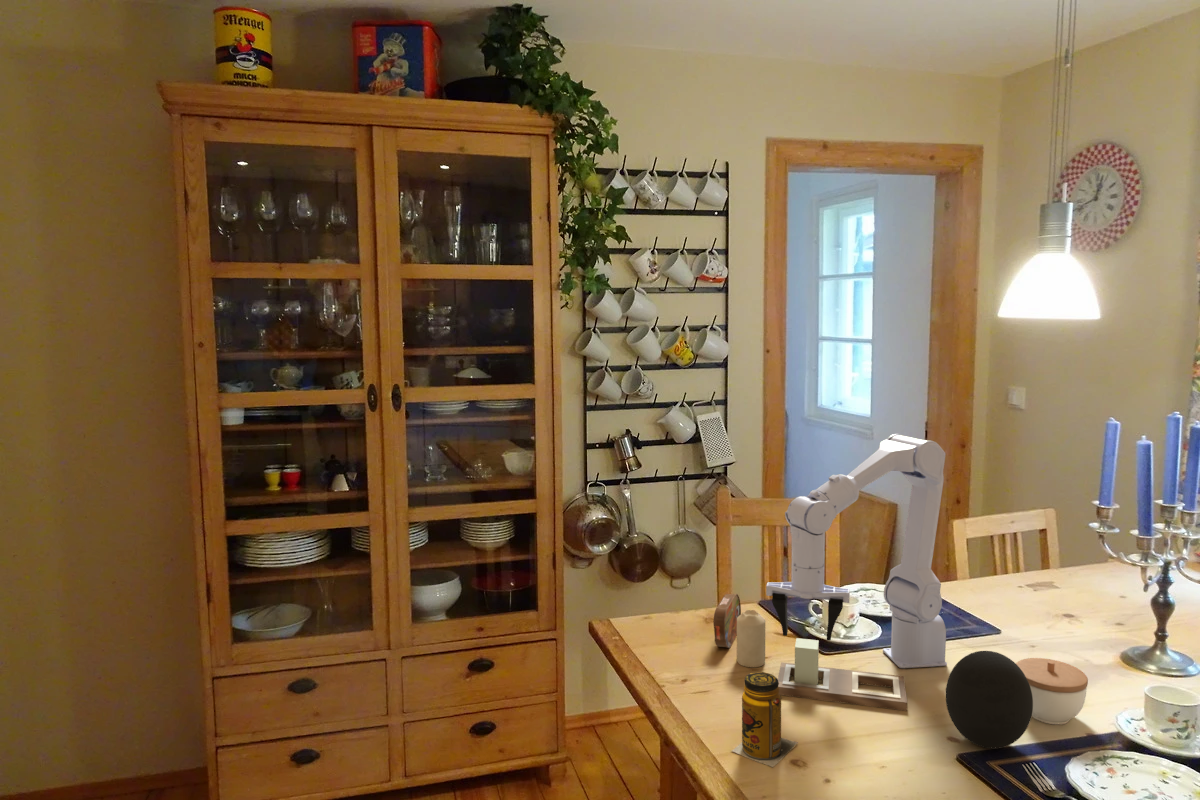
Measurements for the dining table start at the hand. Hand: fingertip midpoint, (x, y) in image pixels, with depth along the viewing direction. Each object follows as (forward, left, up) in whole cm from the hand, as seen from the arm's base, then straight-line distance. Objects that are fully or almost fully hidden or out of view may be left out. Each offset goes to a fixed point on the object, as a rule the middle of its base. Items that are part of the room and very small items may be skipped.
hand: (806, 635), depth 147 cm
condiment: (+13, +19, -10) cm, 25 cm away
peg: (0, 0, -10) cm, 10 cm away
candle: (+7, -11, -10) cm, 16 cm away
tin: (+9, -22, -10) cm, 26 cm away
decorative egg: (-22, +22, -10) cm, 32 cm away
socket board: (-6, +2, -10) cm, 11 cm away
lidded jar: (-37, +15, -10) cm, 41 cm away
